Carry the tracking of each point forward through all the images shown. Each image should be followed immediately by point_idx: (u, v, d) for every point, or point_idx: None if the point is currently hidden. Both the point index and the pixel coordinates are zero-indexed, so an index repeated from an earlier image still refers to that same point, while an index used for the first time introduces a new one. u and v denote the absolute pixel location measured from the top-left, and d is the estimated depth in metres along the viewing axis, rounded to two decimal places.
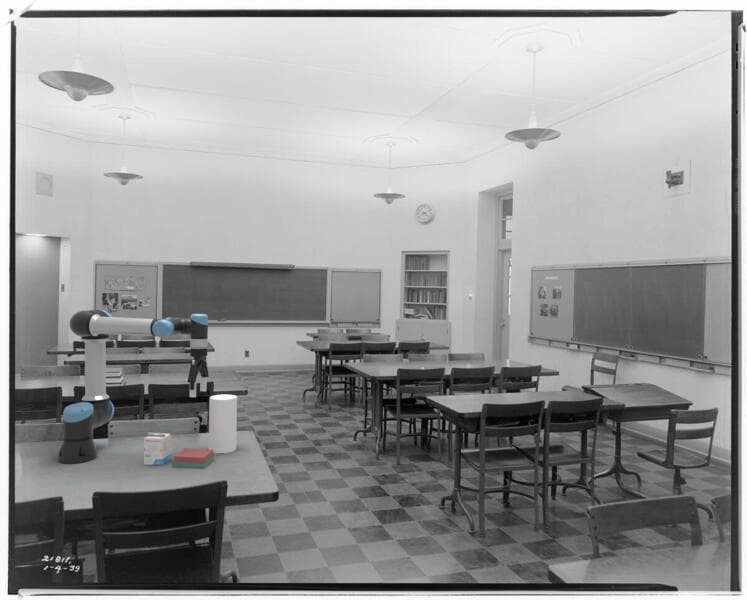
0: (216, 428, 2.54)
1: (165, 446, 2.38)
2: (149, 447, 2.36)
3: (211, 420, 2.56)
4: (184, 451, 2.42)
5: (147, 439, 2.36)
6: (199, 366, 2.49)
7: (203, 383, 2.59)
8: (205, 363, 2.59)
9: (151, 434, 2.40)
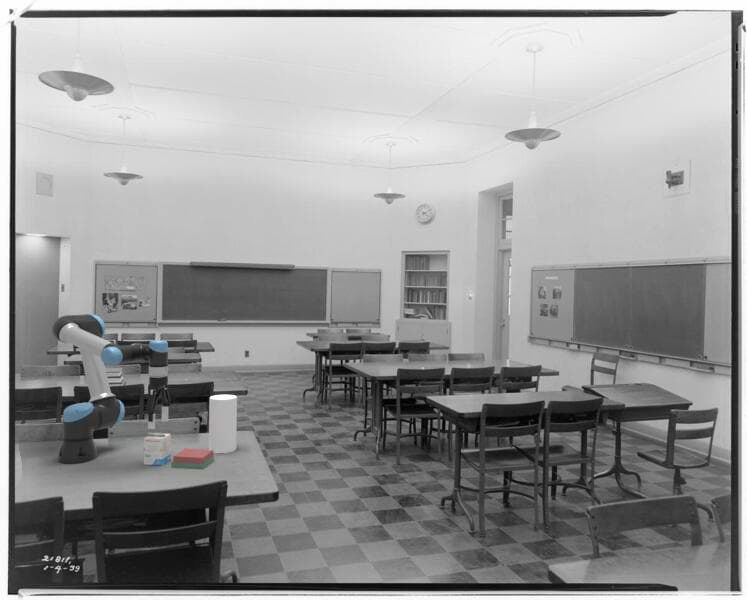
0: (216, 428, 2.54)
1: (165, 446, 2.38)
2: (149, 447, 2.36)
3: (211, 420, 2.56)
4: (184, 451, 2.42)
5: (147, 439, 2.36)
6: (158, 396, 2.36)
7: (165, 413, 2.46)
8: (166, 391, 2.46)
9: (151, 434, 2.40)
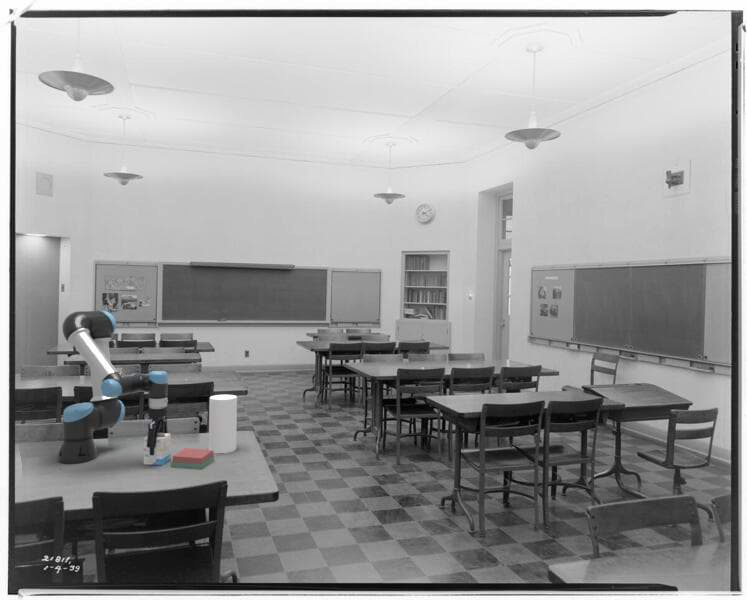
0: (216, 428, 2.54)
1: (164, 446, 2.38)
2: None
3: (211, 420, 2.56)
4: (184, 451, 2.42)
5: None
6: (158, 428, 2.37)
7: None
8: (165, 424, 2.46)
9: None
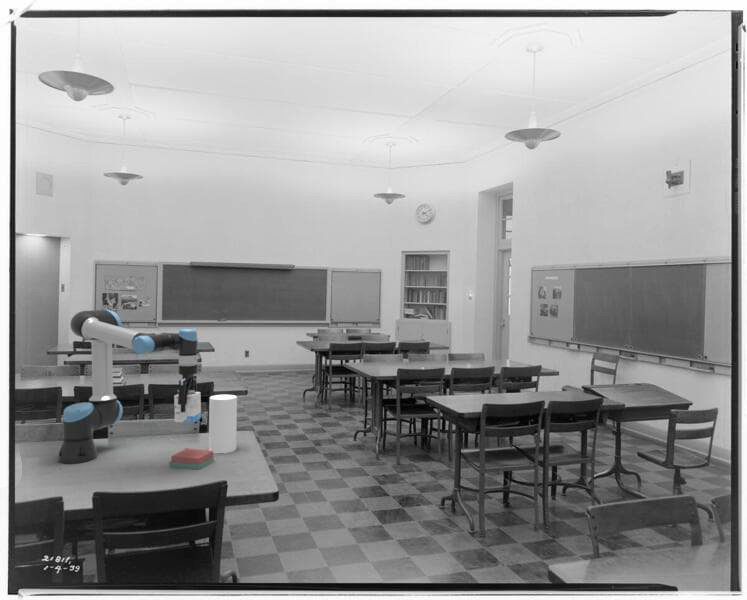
0: (216, 428, 2.54)
1: (195, 403, 2.37)
2: None
3: (211, 420, 2.56)
4: (184, 451, 2.42)
5: None
6: (189, 385, 2.36)
7: None
8: (195, 382, 2.44)
9: None
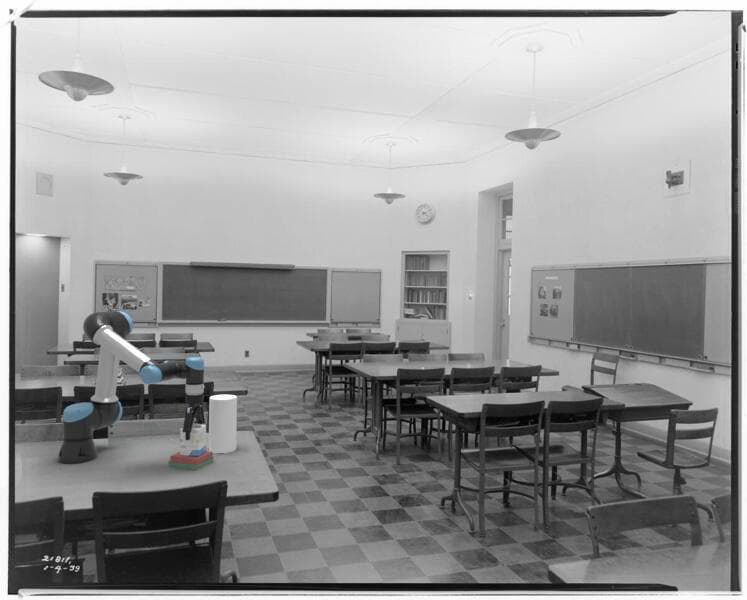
0: (216, 428, 2.54)
1: (201, 437, 2.37)
2: None
3: (211, 420, 2.56)
4: None
5: None
6: (195, 414, 2.36)
7: None
8: (201, 409, 2.45)
9: None
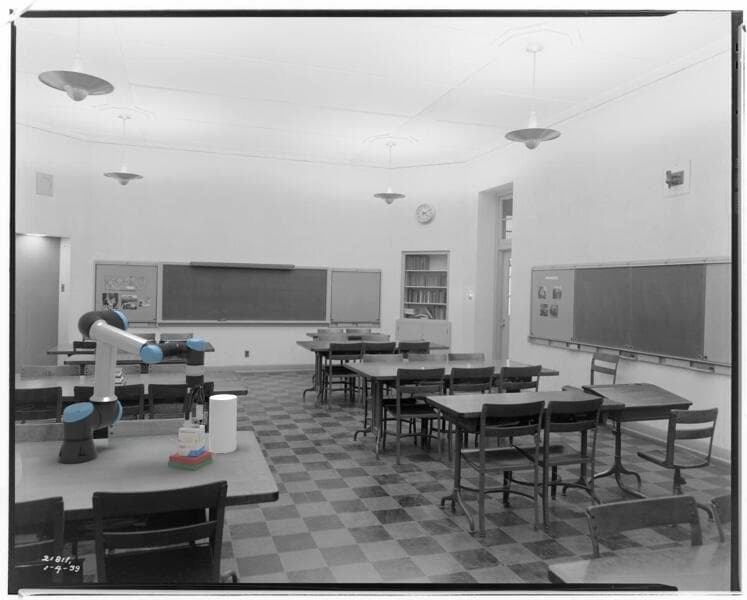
0: (216, 428, 2.54)
1: (199, 437, 2.37)
2: (184, 438, 2.35)
3: (211, 420, 2.56)
4: None
5: (182, 430, 2.35)
6: (195, 394, 2.36)
7: (199, 411, 2.46)
8: (201, 390, 2.45)
9: None
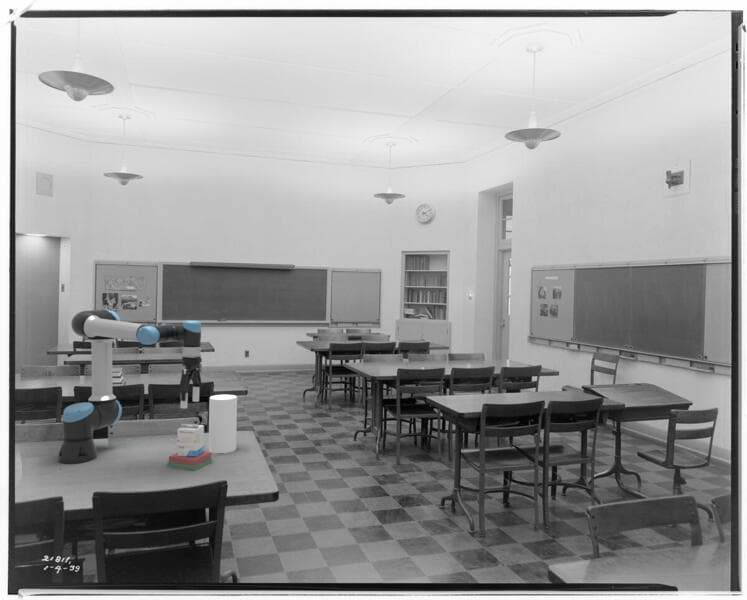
0: (216, 428, 2.54)
1: (198, 437, 2.36)
2: (182, 439, 2.35)
3: (211, 420, 2.56)
4: None
5: (181, 430, 2.35)
6: (191, 376, 2.37)
7: (196, 393, 2.47)
8: (198, 372, 2.47)
9: (185, 425, 2.38)
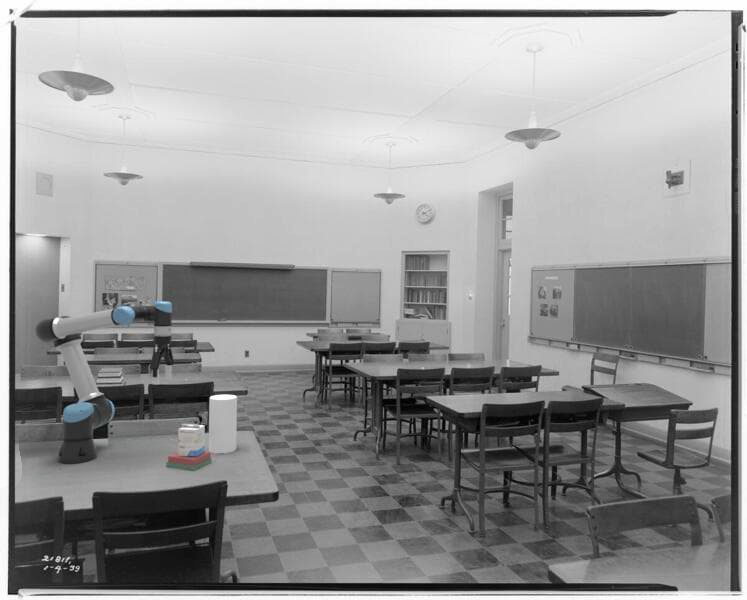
0: (216, 428, 2.54)
1: (199, 437, 2.36)
2: (183, 438, 2.35)
3: (211, 420, 2.56)
4: None
5: (182, 430, 2.35)
6: (162, 353, 2.49)
7: (168, 371, 2.59)
8: (170, 351, 2.59)
9: (185, 425, 2.38)
